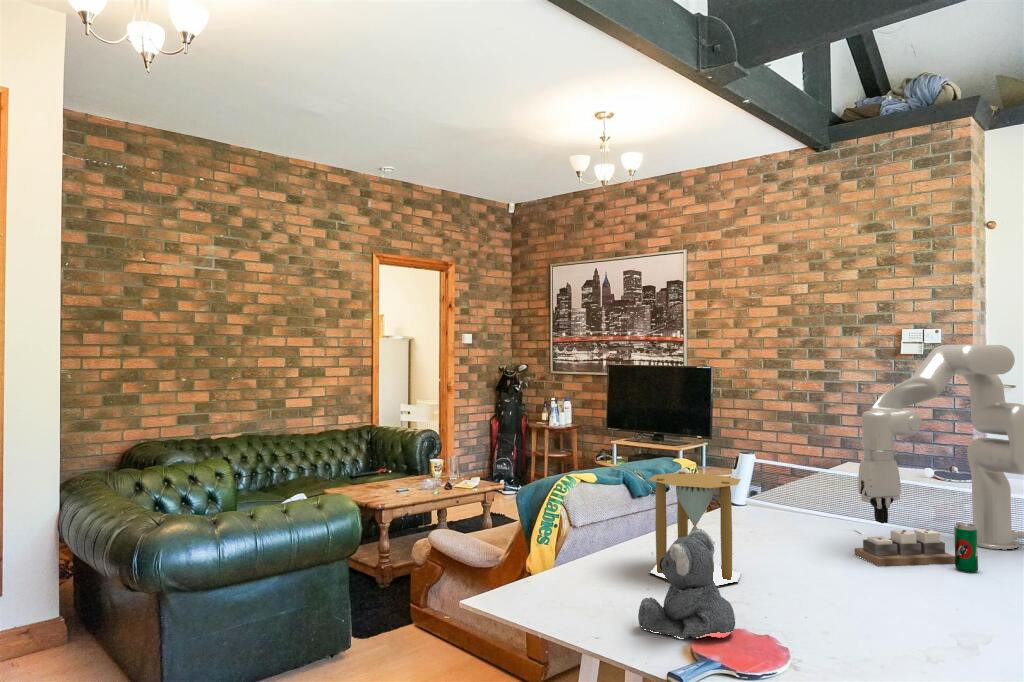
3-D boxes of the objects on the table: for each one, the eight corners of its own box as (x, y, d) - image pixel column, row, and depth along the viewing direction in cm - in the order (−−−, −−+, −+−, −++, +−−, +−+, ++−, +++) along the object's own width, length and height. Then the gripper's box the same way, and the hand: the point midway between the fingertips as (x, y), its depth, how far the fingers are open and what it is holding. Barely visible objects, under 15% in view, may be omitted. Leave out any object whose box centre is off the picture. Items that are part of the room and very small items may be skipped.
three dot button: (905, 542, 195) (905, 529, 195) (916, 546, 190) (916, 533, 190) (891, 543, 194) (890, 529, 194) (901, 547, 190) (901, 533, 190)
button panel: (927, 552, 199) (926, 535, 199) (955, 563, 188) (955, 545, 188) (854, 555, 196) (854, 537, 197) (879, 566, 186) (878, 547, 186)
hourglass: (632, 574, 180) (631, 477, 180) (676, 556, 196) (675, 467, 197) (717, 595, 164) (716, 488, 164) (757, 573, 180) (756, 476, 181)
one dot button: (882, 549, 194) (882, 536, 194) (892, 553, 190) (892, 540, 190) (867, 549, 193) (867, 536, 194) (877, 554, 189) (877, 540, 189)
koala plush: (671, 607, 156) (670, 519, 156) (750, 626, 144) (749, 532, 145) (632, 630, 142) (631, 534, 143) (716, 654, 131) (715, 549, 132)
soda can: (981, 573, 179) (980, 527, 179) (960, 572, 180) (959, 526, 180) (973, 568, 184) (971, 522, 184) (951, 567, 185) (950, 521, 185)
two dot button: (928, 541, 195) (928, 528, 196) (940, 545, 191) (939, 532, 191) (914, 542, 195) (914, 529, 195) (925, 546, 191) (925, 533, 191)
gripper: (894, 452, 197) (897, 517, 197) (845, 455, 195) (848, 520, 195) (912, 456, 189) (916, 523, 189) (861, 459, 188) (864, 527, 188)
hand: (881, 521), depth 192 cm, fingers closed
